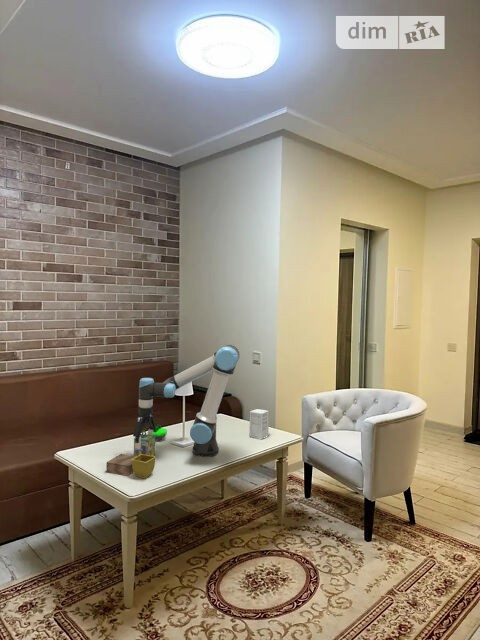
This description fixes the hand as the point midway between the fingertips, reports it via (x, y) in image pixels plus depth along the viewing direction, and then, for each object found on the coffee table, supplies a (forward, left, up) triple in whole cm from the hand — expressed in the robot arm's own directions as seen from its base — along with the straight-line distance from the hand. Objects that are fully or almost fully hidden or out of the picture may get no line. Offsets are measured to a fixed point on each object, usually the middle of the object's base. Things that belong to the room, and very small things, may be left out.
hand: (144, 444), depth 243 cm
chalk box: (0, 0, -7) cm, 7 cm away
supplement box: (-49, -60, -7) cm, 78 cm away
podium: (0, +19, -7) cm, 20 cm away
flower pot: (-13, +23, -7) cm, 27 cm away
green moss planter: (+8, -30, -7) cm, 32 cm away
